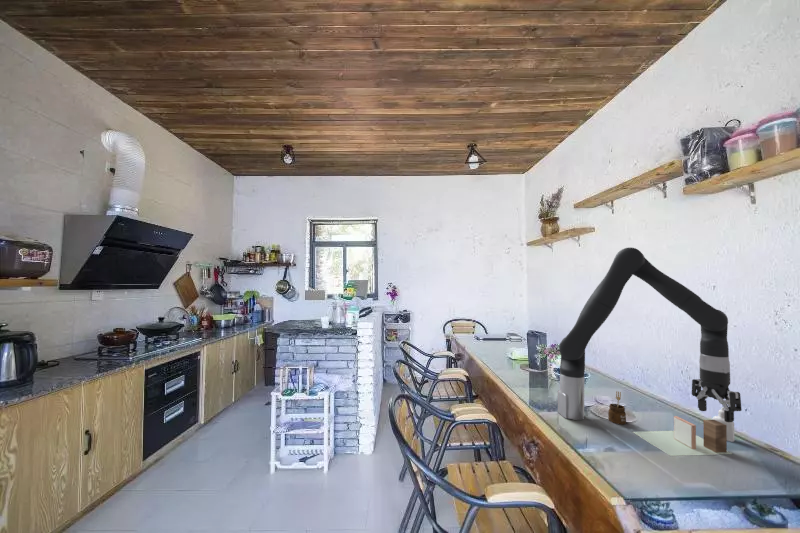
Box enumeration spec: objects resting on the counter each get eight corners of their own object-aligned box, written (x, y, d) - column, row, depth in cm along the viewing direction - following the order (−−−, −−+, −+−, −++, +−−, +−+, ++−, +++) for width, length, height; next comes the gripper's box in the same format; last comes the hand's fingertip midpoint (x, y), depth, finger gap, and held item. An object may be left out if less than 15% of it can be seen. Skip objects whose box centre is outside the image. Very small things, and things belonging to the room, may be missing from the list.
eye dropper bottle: (720, 436, 122) (720, 404, 122) (737, 444, 116) (737, 410, 117) (709, 436, 122) (709, 404, 122) (725, 444, 116) (725, 410, 116)
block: (715, 452, 109) (715, 425, 109) (703, 446, 113) (703, 419, 113) (726, 452, 109) (726, 425, 110) (714, 445, 113) (714, 419, 114)
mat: (670, 459, 107) (670, 455, 107) (632, 434, 123) (632, 431, 123) (732, 456, 109) (732, 453, 109) (687, 432, 124) (687, 430, 124)
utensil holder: (606, 423, 132) (606, 393, 132) (610, 418, 136) (610, 389, 136) (624, 428, 128) (624, 397, 128) (627, 423, 132) (627, 393, 132)
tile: (692, 449, 111) (692, 425, 111) (673, 438, 118) (673, 416, 118) (695, 448, 111) (695, 425, 111) (677, 438, 118) (677, 416, 118)
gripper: (684, 362, 119) (685, 407, 118) (726, 375, 104) (727, 426, 104) (703, 362, 119) (704, 407, 119) (748, 374, 105) (749, 425, 105)
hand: (715, 416), depth 111 cm, fingers open, 8 cm apart
